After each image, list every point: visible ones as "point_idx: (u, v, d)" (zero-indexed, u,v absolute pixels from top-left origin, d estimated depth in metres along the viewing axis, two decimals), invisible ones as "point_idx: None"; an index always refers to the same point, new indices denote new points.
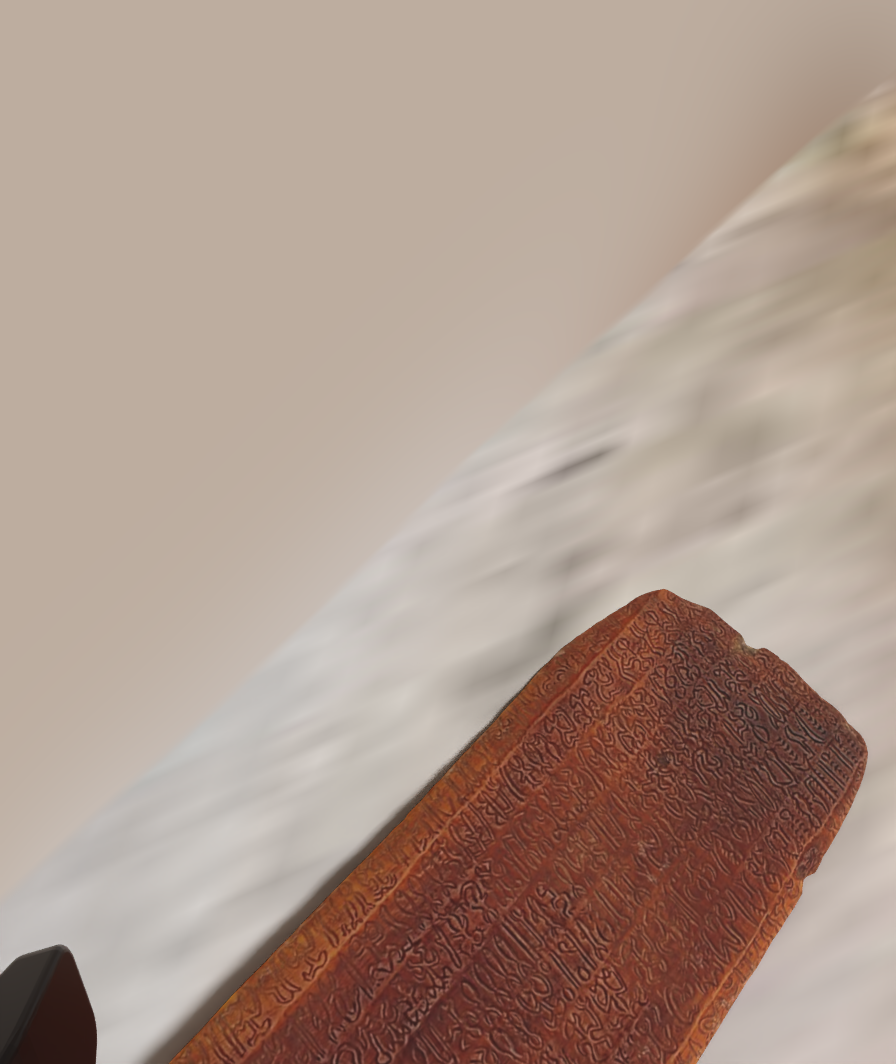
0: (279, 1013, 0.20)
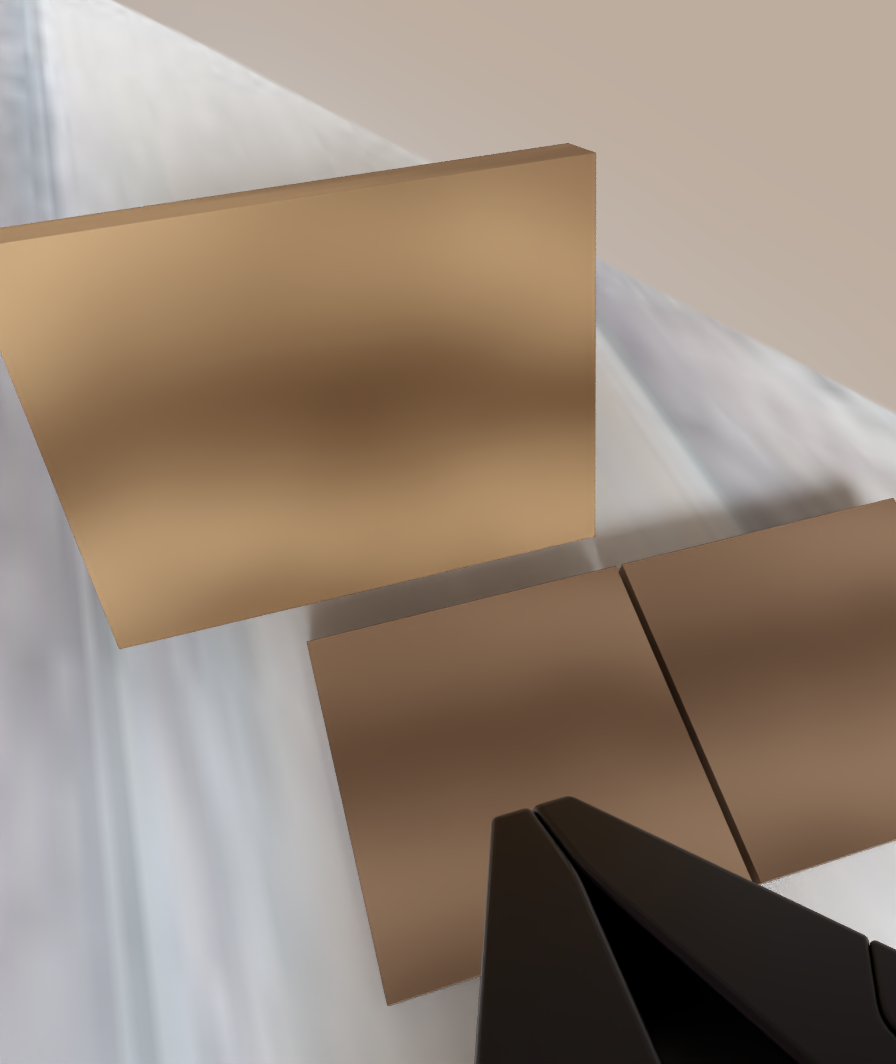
0: None
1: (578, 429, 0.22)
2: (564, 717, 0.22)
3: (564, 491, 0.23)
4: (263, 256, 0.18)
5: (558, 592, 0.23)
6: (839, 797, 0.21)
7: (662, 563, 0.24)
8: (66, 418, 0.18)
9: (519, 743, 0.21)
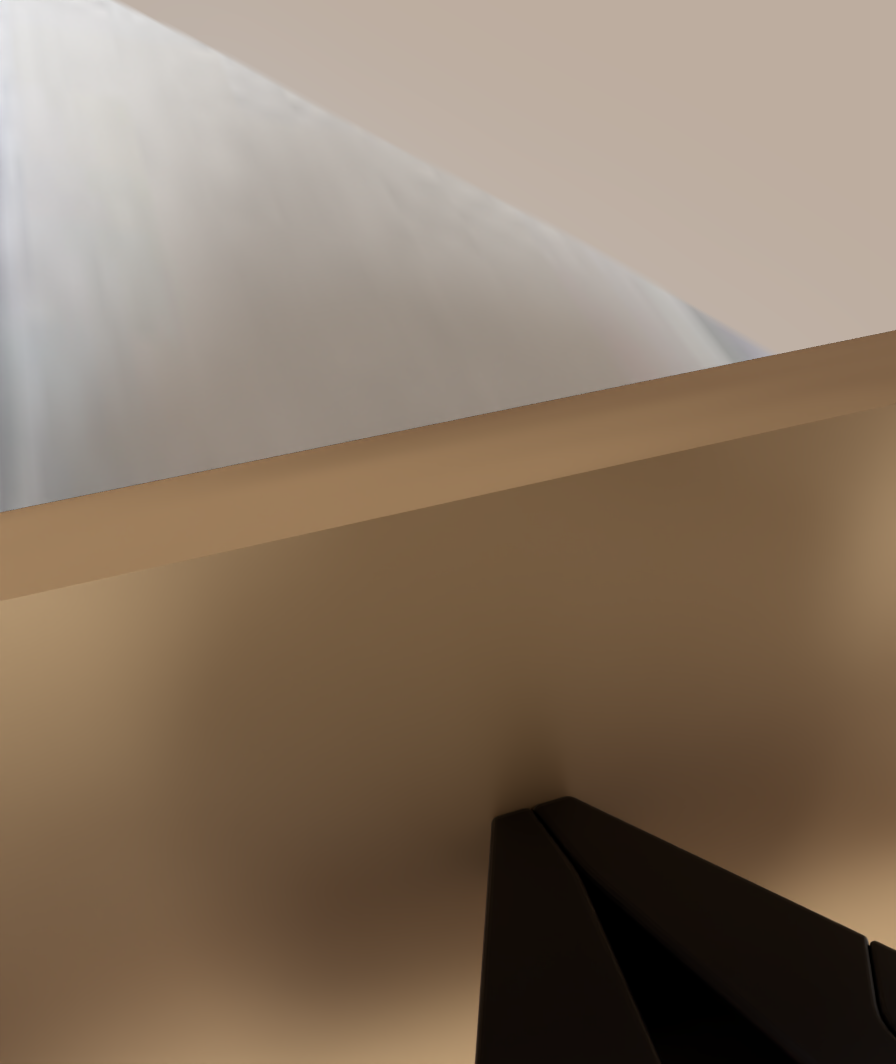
0: None
1: None
2: None
3: None
4: (406, 624, 0.07)
5: None
6: None
7: None
8: None
9: None
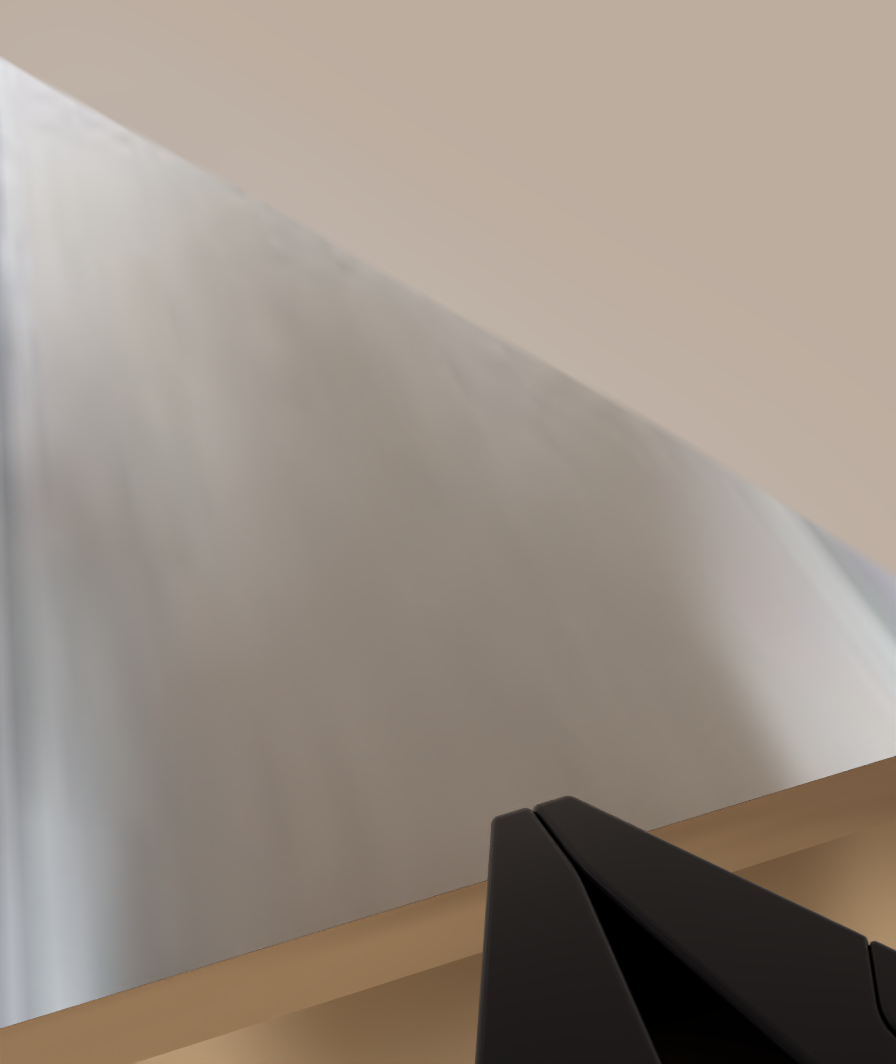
0: None
1: None
2: None
3: None
4: None
5: None
6: None
7: None
8: None
9: None
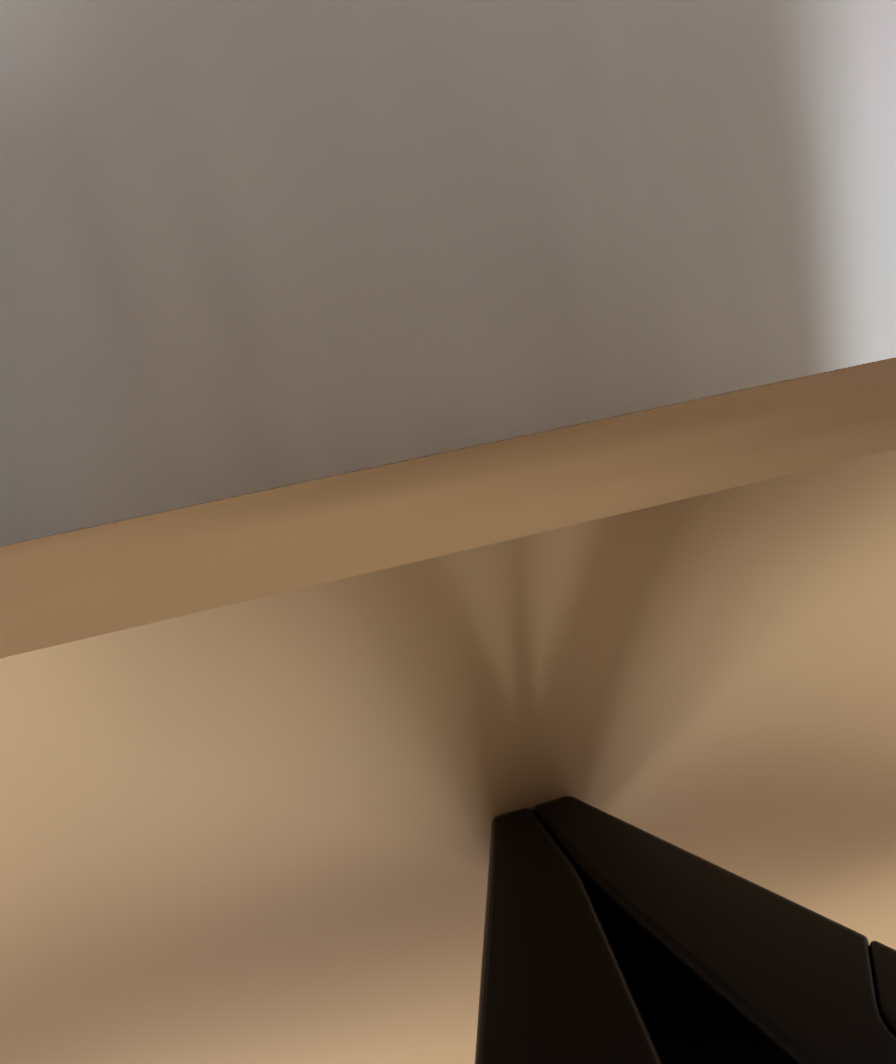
0: None
1: None
2: None
3: None
4: (416, 666, 0.07)
5: None
6: None
7: None
8: None
9: None
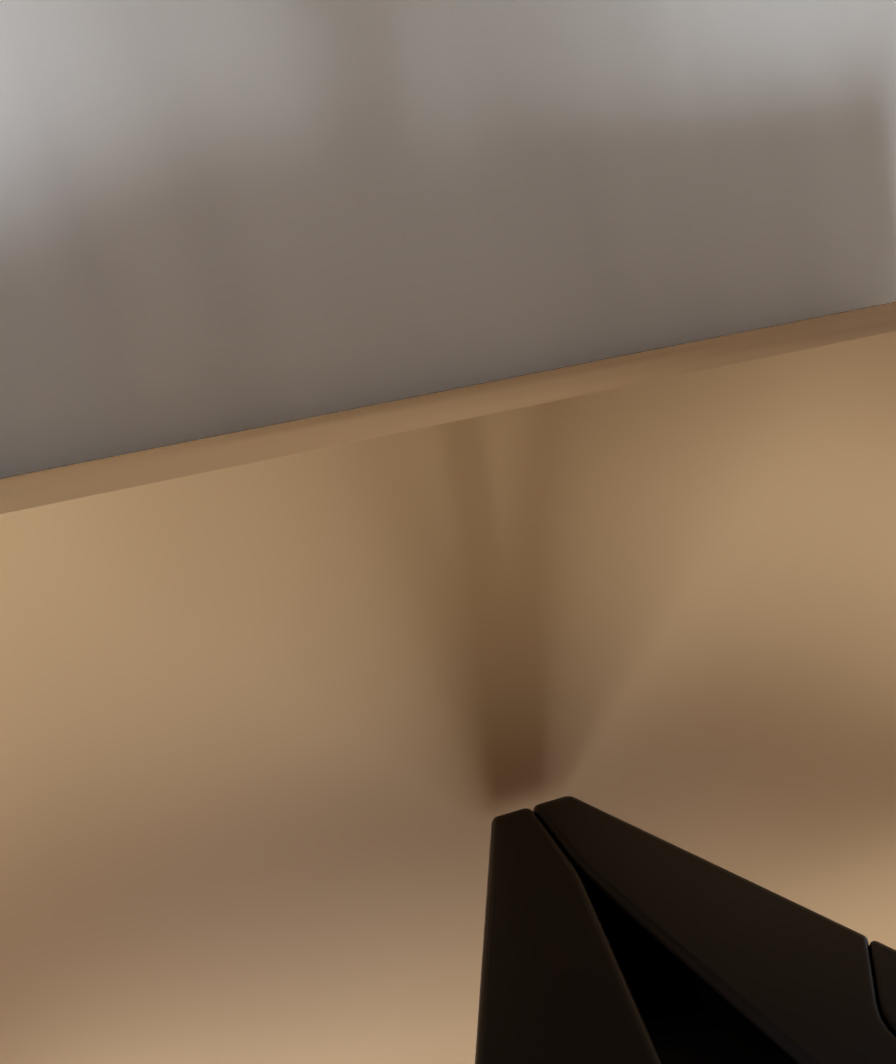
0: None
1: None
2: None
3: None
4: (379, 549, 0.08)
5: None
6: None
7: None
8: None
9: None
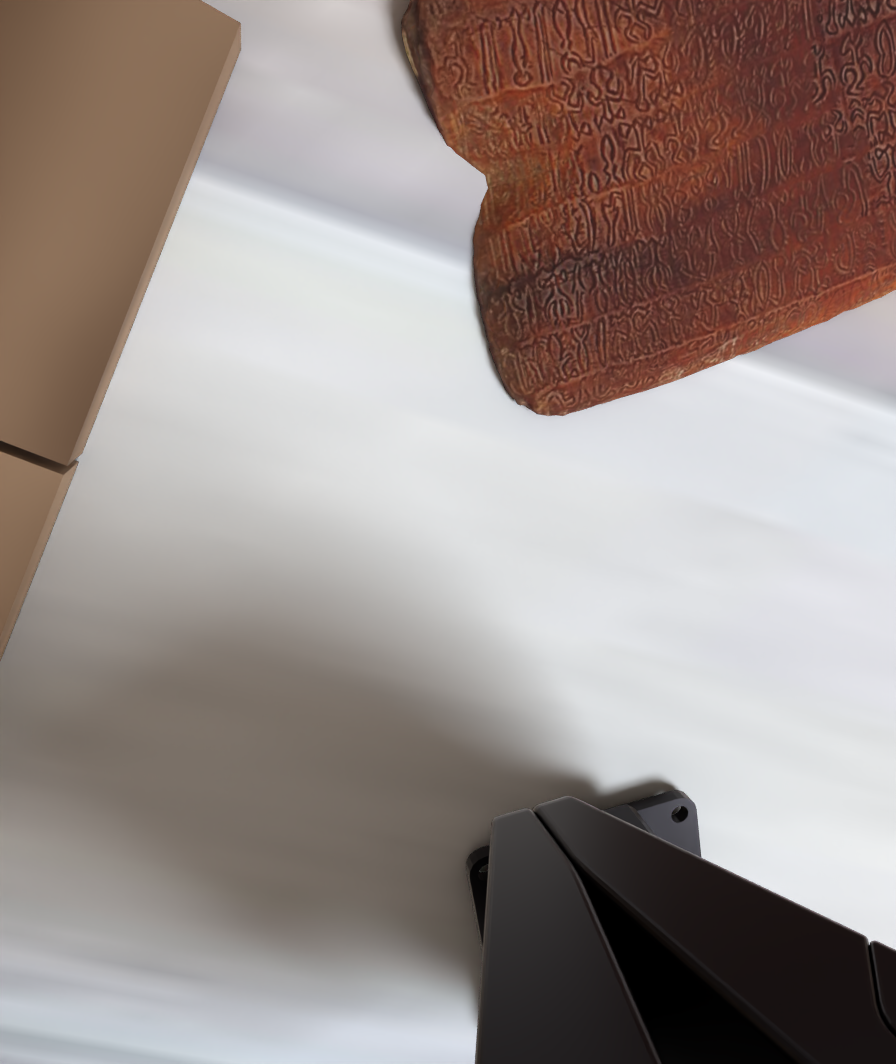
0: None
1: None
2: None
3: None
4: None
5: None
6: (51, 303, 0.16)
7: None
8: None
9: None
